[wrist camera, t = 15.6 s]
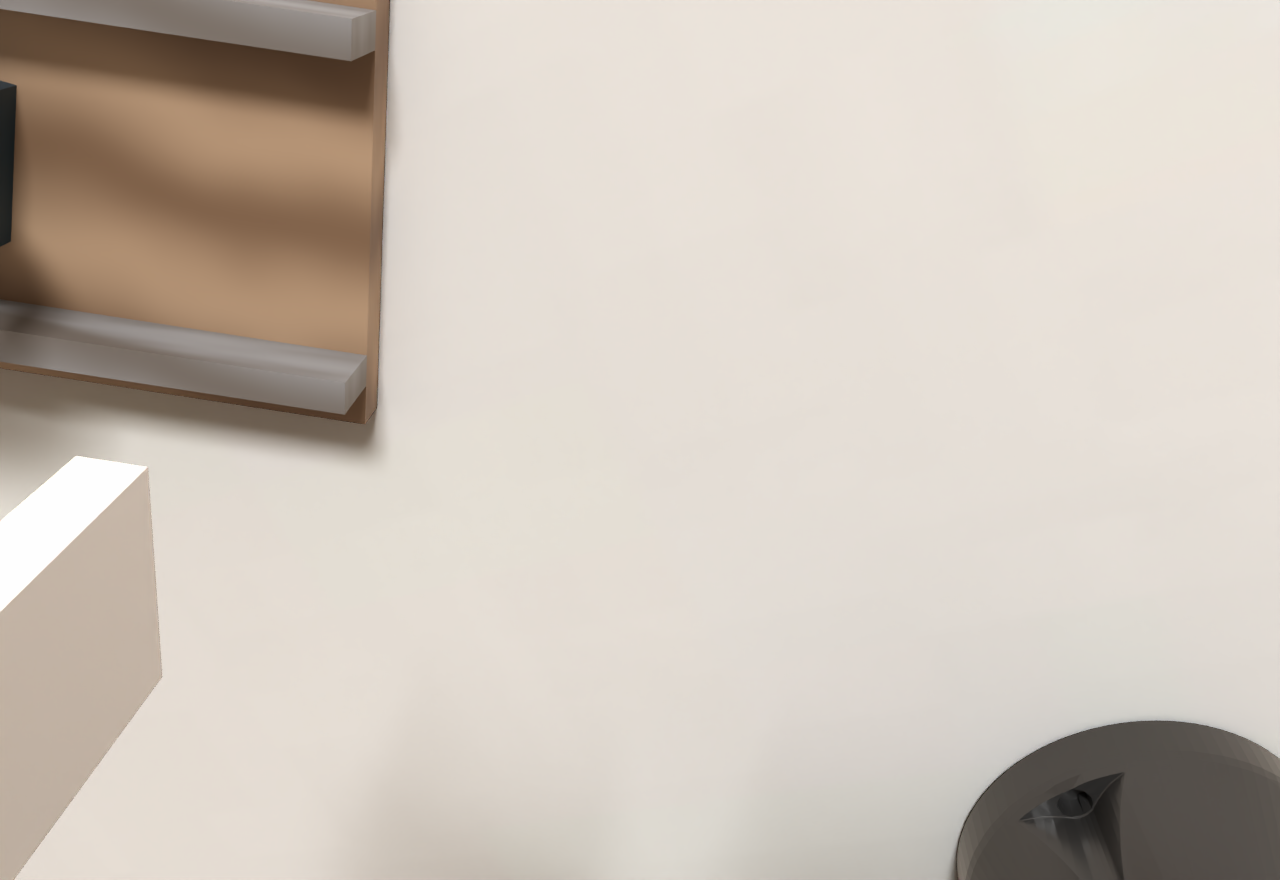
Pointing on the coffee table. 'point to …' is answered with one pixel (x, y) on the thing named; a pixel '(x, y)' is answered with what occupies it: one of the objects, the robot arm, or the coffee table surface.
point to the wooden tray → (198, 198)
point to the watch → (6, 157)
